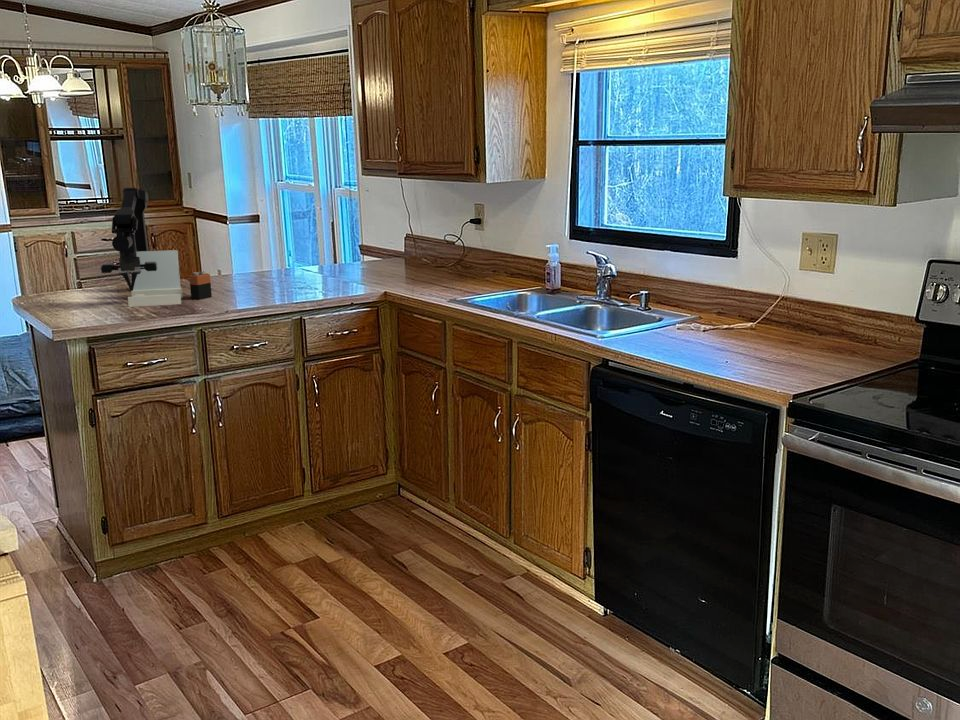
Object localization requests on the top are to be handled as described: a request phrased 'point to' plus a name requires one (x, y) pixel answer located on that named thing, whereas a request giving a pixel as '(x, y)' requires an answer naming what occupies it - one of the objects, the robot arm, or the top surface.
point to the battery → (200, 285)
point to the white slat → (155, 297)
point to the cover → (158, 271)
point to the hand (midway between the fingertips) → (131, 290)
